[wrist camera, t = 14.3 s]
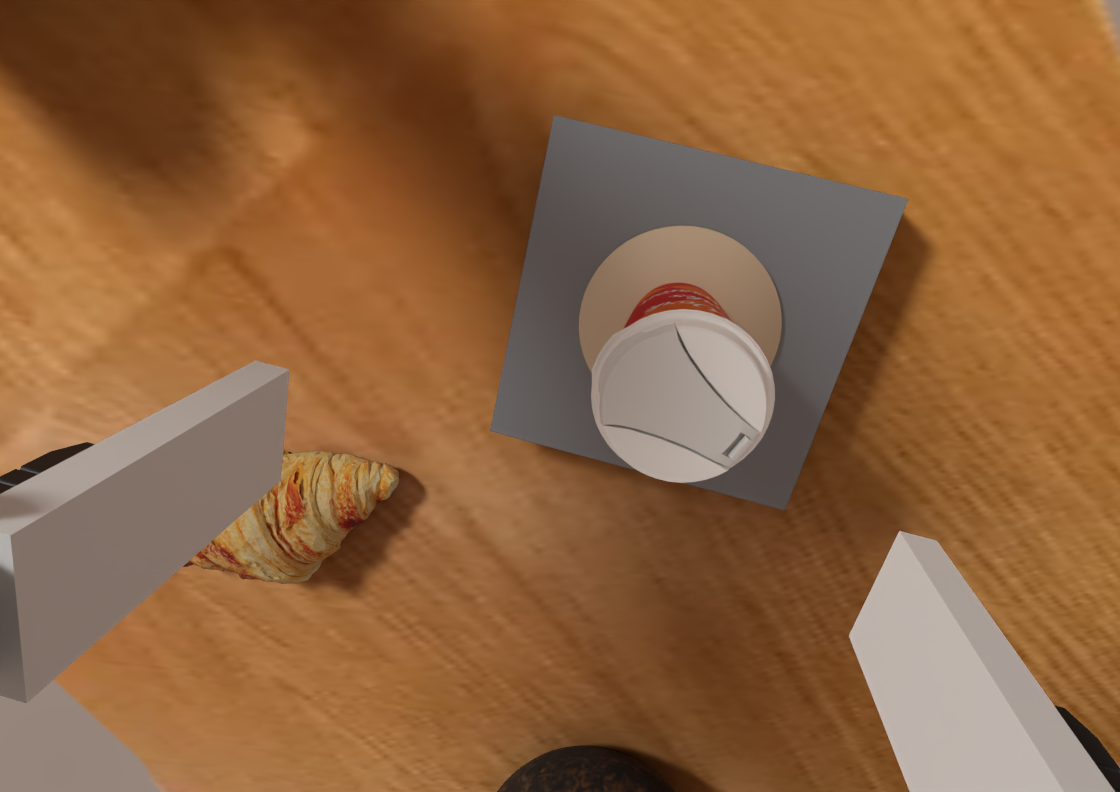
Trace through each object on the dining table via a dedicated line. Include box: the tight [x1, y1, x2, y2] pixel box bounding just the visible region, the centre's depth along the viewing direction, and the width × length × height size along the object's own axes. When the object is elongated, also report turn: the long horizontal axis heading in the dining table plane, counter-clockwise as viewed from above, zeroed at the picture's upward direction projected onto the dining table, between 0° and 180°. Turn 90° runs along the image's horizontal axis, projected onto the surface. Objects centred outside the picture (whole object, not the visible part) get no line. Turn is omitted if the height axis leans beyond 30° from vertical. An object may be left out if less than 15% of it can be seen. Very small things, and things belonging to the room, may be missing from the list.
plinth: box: [490, 115, 908, 511], centre depth 42 cm, size 20×20×4 cm
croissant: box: [183, 450, 399, 584], centre depth 52 cm, size 21×10×8 cm, turn 114°
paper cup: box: [591, 283, 775, 483], centre depth 34 cm, size 8×8×14 cm
